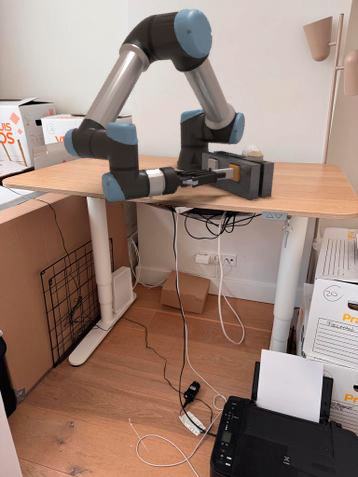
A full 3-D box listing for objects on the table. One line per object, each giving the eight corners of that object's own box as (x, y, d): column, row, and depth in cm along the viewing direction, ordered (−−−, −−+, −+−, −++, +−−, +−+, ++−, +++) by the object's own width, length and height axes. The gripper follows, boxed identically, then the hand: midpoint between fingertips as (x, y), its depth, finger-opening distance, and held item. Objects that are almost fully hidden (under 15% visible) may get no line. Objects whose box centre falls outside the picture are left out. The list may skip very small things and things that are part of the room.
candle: (262, 177, 124) (264, 150, 120) (260, 180, 119) (263, 152, 115) (247, 176, 126) (249, 149, 122) (245, 179, 121) (246, 151, 117)
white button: (214, 174, 110) (215, 160, 108) (207, 172, 114) (208, 158, 112) (226, 173, 112) (226, 159, 110) (218, 170, 115) (219, 157, 114)
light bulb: (255, 175, 128) (257, 145, 123) (238, 174, 130) (239, 145, 126) (259, 172, 133) (262, 143, 129) (243, 170, 136) (245, 142, 132)
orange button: (236, 181, 100) (237, 166, 98) (228, 178, 104) (229, 164, 102) (248, 180, 102) (249, 165, 100) (240, 177, 105) (241, 163, 104)
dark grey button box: (249, 200, 97) (251, 164, 93) (201, 180, 120) (202, 151, 117) (271, 196, 100) (274, 162, 96) (220, 178, 124) (221, 150, 120)
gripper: (151, 189, 98) (220, 181, 108) (170, 200, 88) (244, 189, 97) (150, 164, 96) (220, 157, 105) (169, 172, 85) (246, 163, 94)
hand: (232, 173), depth 101 cm, fingers closed
